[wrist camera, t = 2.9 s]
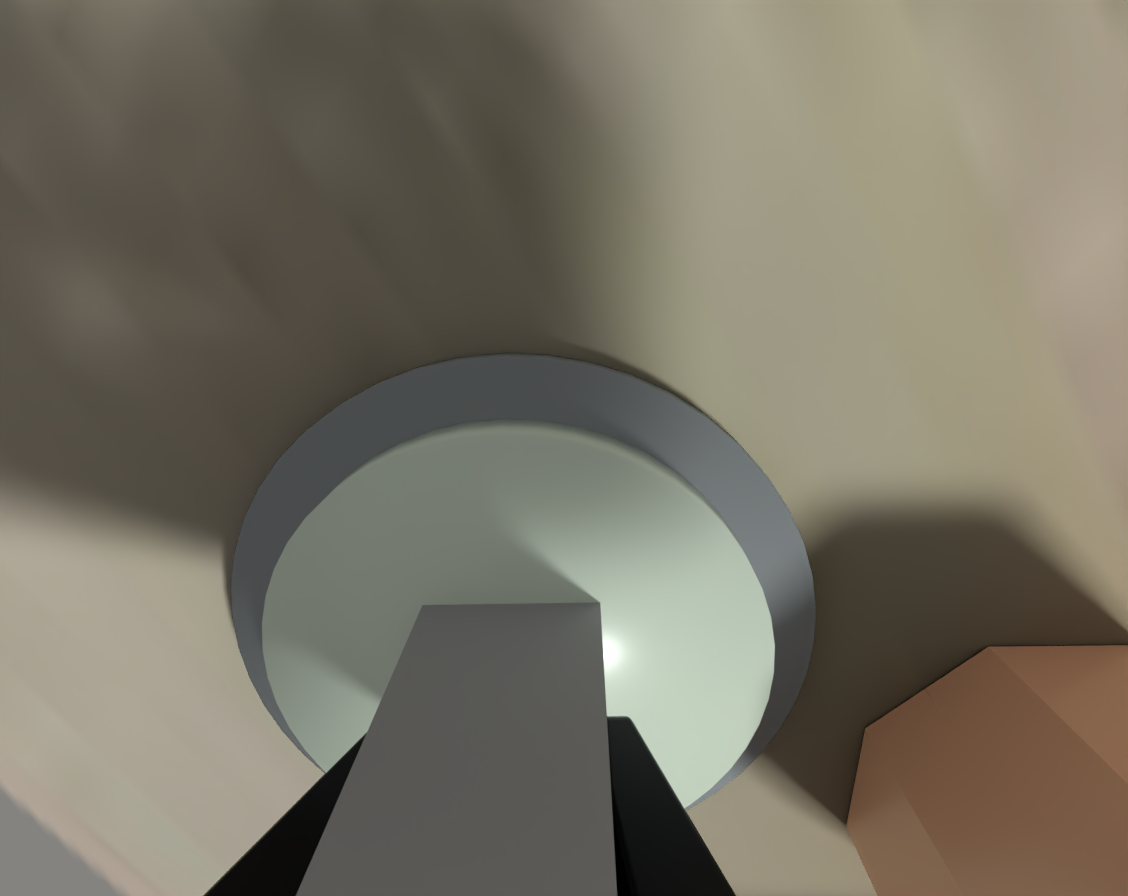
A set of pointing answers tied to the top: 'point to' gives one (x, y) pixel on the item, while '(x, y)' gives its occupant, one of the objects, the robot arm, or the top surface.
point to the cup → (1001, 779)
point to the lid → (508, 655)
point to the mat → (554, 397)
